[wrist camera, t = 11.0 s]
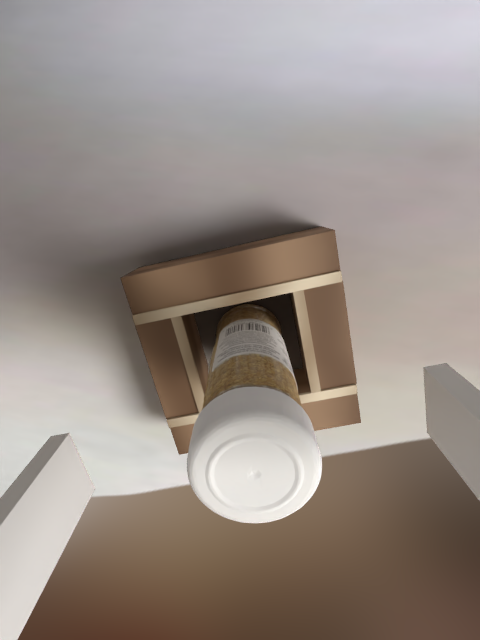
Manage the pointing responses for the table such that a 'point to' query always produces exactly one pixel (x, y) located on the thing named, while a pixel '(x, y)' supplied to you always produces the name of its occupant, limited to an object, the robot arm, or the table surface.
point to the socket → (238, 287)
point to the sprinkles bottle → (252, 425)
